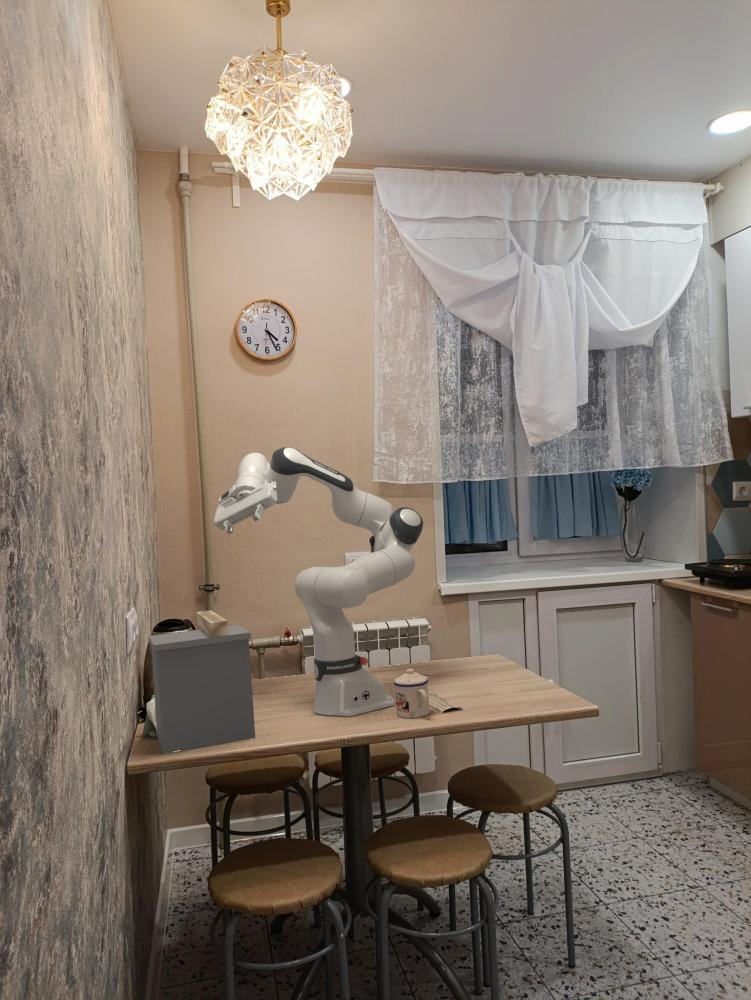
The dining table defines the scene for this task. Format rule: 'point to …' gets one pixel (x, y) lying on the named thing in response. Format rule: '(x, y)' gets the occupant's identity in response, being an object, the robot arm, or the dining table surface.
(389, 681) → the dining table surface
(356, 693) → the robot arm
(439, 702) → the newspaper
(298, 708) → the dining table surface
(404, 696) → the teacup with lid
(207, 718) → the cabinet
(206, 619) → the beech bar
